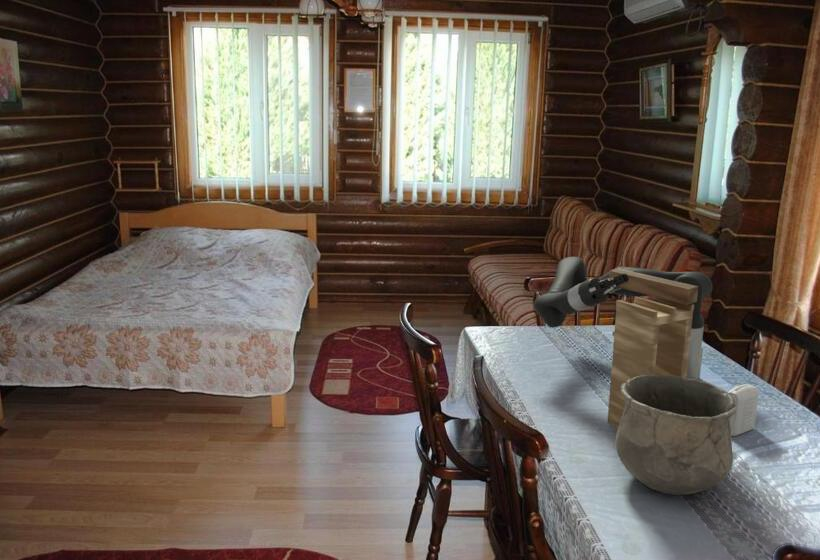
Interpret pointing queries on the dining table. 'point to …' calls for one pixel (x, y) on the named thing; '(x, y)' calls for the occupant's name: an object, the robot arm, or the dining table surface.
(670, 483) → the pot
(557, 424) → the dining table surface
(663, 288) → the block
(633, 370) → the rack
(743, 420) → the photo printer
